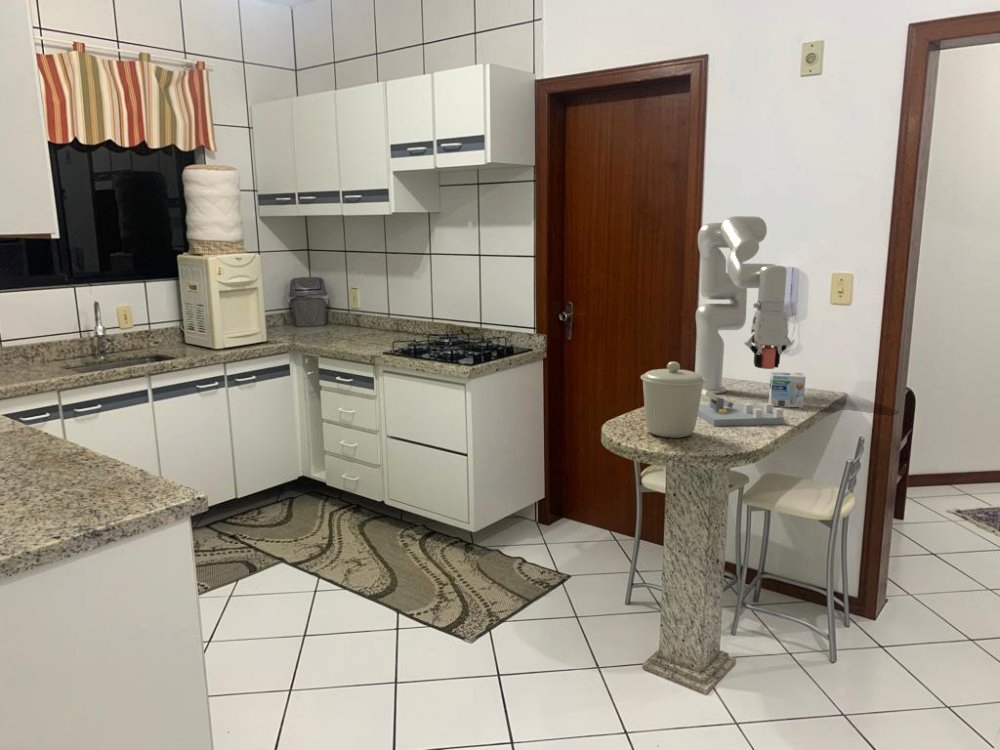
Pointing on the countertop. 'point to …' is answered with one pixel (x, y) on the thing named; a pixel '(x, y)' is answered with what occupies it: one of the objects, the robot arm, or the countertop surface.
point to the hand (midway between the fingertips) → (766, 366)
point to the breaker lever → (716, 398)
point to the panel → (740, 414)
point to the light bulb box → (787, 389)
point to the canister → (672, 400)
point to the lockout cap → (768, 357)
